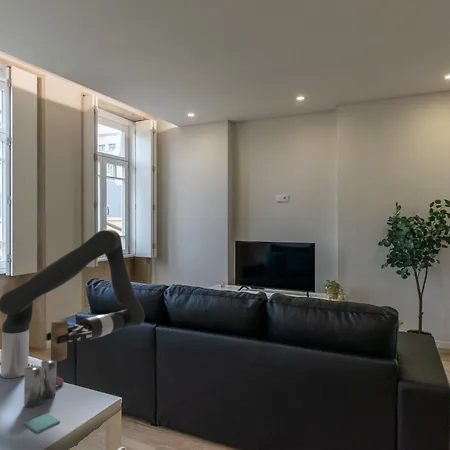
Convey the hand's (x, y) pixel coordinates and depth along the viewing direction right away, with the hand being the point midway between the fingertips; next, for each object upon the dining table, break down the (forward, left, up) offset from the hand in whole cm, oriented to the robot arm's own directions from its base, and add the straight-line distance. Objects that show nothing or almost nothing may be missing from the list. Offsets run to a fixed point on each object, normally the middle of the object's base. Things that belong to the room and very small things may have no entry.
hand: (51, 338), depth 116 cm
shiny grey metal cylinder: (-11, +6, -24) cm, 27 cm away
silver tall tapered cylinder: (-9, 0, -24) cm, 25 cm away
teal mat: (+4, -4, -24) cm, 25 cm away
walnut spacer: (0, +3, -7) cm, 7 cm away
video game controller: (-19, +11, -24) cm, 32 cm away
